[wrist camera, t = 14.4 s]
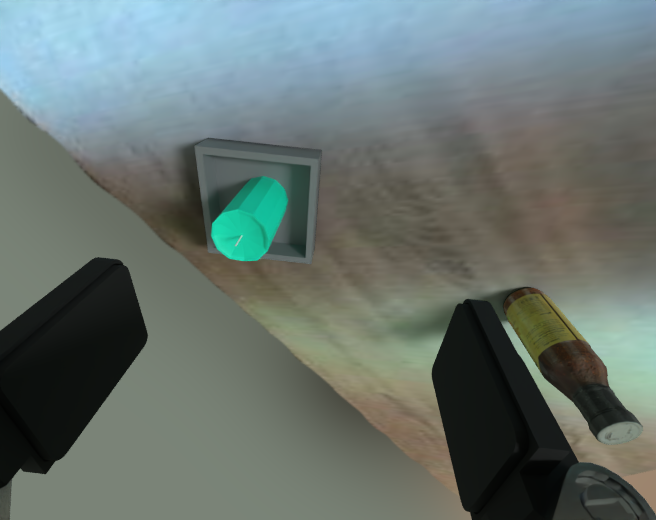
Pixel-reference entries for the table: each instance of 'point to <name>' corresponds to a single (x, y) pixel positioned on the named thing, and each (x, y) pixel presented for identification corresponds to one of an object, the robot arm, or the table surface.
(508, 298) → the sauce bottle
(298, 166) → the box
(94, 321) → the robot arm
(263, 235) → the candle
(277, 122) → the table surface
